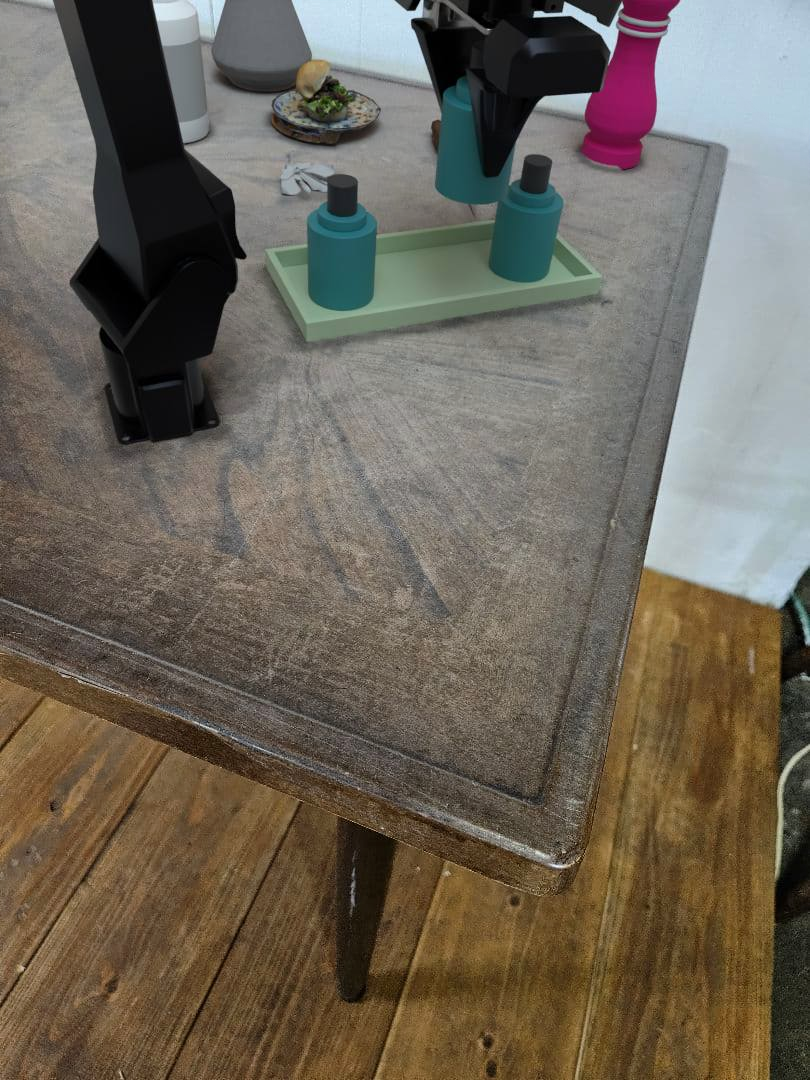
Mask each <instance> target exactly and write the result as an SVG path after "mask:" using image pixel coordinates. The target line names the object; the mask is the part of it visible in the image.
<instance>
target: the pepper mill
mask: <svg viewBox="0 0 810 1080" xmlns="http://www.w3.org/2000/svg"><path fill="white" fill-rule="evenodd" d="M679 3H681V0H623V1H622V3H621V4H622V7H623V8H621V9H620V10H618V11H617V16H618V18H617V21H616V22H615V28H616V29H617V30H618V32H617V38H616V43H615V47H614V50H613V53H612V56H611V57H610V60H609V63H608V68H607V72H606V77H605V81H604V85H603V89H602V90H601V91H600V92H596V93H590V95H589V98H588V100H587V103H586V107H585V110H584V121H585V123H586V125H587V127H588V129H589V131H588V132H587V133H585V135H584V137H583V141H582V146H581V150H580V153H582V154H583V155H584V156H585V157H586V158H587V159H588V160H591V161H593V162H595V163H598V164H602V165H606V166H611V167H617V168H619V169H620V170H628V169H629V170H630V169H632V168H634V167H636V166H637V165H638V164H639V162H640V159H641V157H642V152H643V147H644V144H643V143H642V141H641V140H642V139H643V138H644V137H646V136H647V135H648V134H649V133H650V132H651V131H652V130H653V127H654V126H655V122H656V117H657V113H658V97H657V96H658V95H657V87H656V86H657V85H656V61H657V56H658V49H659V47H660V44H661V41H662V38H663V37H665V36H666V35H667V34H668V32H669V29H668V28H669V24H670V23H671V21H672V18H671V17H670V15H669V14H670V13H671V12H672V11H673V10H674V9H675V8H677V6H678V5H679Z"/></svg>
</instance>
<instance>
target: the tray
mask: <svg viewBox="0 0 810 1080" xmlns="http://www.w3.org/2000/svg"><path fill="white" fill-rule="evenodd" d="M494 224H495V219H490V220H482V221H474V222H473V221H472V222H466V223H459V224H451V225H444V226H435V227H427V228H420V229H411V230H404V231H396V232H388V233H381V234H377V235H376V257H375V279H374V296H373V299H372V300H371V302H370V303H368V304H367V305H366V306H364V307H361V308H358V309H355V310H348V311H339V310H331V309H327V308H324V307H322V306H319V305H318V304H316V303H315V302H313V301H312V300H311V298H310V296H309V294H308V254H307V243H302V244H295V245H287V246H286V245H285V246H279V247H272V248H265V249H264V257H265V268H266V270H267V272H268V274H269V275H270V277H271V279H272V281H273V283H274V284H275V287H276V288H277V290H278V292H279V294H280V295H281V298H282V299H283V301H284V303H285V305H286V307H287V308H288V310H289V311H290V314H291V316H292V317H293V319H294V321H295V323H296V325H297V327H298V329H299V330H300V332H301V334H302V336H303V338H304V340H305V342H306V343H308V342H314V341H320V340H325V339H332V338H338V337H345V336H350V335H356V334H362V333H367V332H373V331H374V332H375V331H380V330H381V331H382V330H388V329H393V328H398V327H404V326H410V325H411V326H412V325H416V324H423V323H429V322H435V321H442V320H446V319H452V318H459V317H464V316H470V315H476V314H483V313H488V312H495V311H501V310H507V309H513V308H520V307H525V306H531V305H538V304H544V303H551V302H555V301H561V300H568V299H573V298H579V297H586V296H592V295H598V294H599V292H600V288H601V284H602V280H603V275H602V274H601V273H599V271H597V270H596V269H595V268H594V266H593V265H592V264H590V263H589V262H588V260H586V259H585V258H584V257H583V256H582V255H581V254H580V253H579V252H578V251H577V250H576V249H575V248H574V247H573V246H571V244H570V243H569V242H568V241H567V240H566V239H564V238H563V236H561V234H560V233H558V232H557V236H556V241H555V246H554V250H553V255H552V260H551V264H550V269H549V273H548V275H547V276H546V277H545V278H543V279H541V280H539V281H535V282H515V281H510V280H507V279H504V278H502V277H500V276H498V275H496V274H495V273H494V272H493V271H492V270H491V269H490V267H489V256H490V250H491V243H492V237H493V230H494Z"/></svg>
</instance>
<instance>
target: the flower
mask: <svg viewBox="0 0 810 1080" xmlns="http://www.w3.org/2000/svg"><path fill="white" fill-rule="evenodd" d="M293 152H294V150H293V149H292V150H291V151H288V153H285V155H286V157H287V160H286V162H285V164H284V168H283V167H282V168H280V171H281V172H282V173H281V175H279V176H278V178H279V179H280V182H281V183H280V185H281V188H280V193H281V194H285V195H289V196H294V195H298V194H299V193H300V192H302V189H301V188H300V187H299V185H301V187H302V188H303V189H304V191H305V192H306V193H309V194H311V192H312V190H313V191H319V192H322V193H327V179H328V178H329V177H330V176H332V175H335V172H336V170H335V166H334V165H332V164H321V163H320V164H319V163H313V162H310V161H307V162H303V163H302V162H301V163H300V162H297V161H294V164H292V165H291V164H290V163H291V160H292V158H291V157H292V153H293ZM297 183H298V184H299V185H298V184H297Z"/></svg>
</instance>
